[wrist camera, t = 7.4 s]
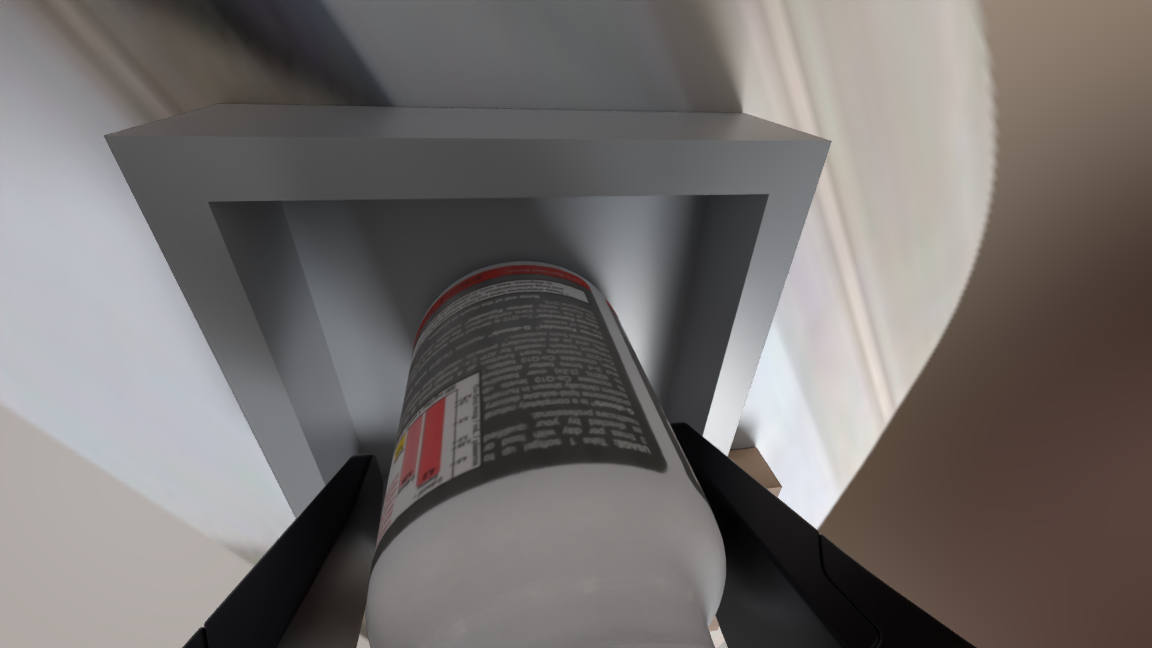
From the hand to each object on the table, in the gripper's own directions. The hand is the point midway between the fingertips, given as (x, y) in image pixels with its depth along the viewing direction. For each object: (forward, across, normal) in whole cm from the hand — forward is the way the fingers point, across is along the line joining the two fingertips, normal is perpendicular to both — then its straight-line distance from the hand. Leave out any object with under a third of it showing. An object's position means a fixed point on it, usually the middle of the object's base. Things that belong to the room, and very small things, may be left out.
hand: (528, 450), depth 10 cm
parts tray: (+5, 0, 0) cm, 5 cm away
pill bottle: (+4, 0, 0) cm, 4 cm away
